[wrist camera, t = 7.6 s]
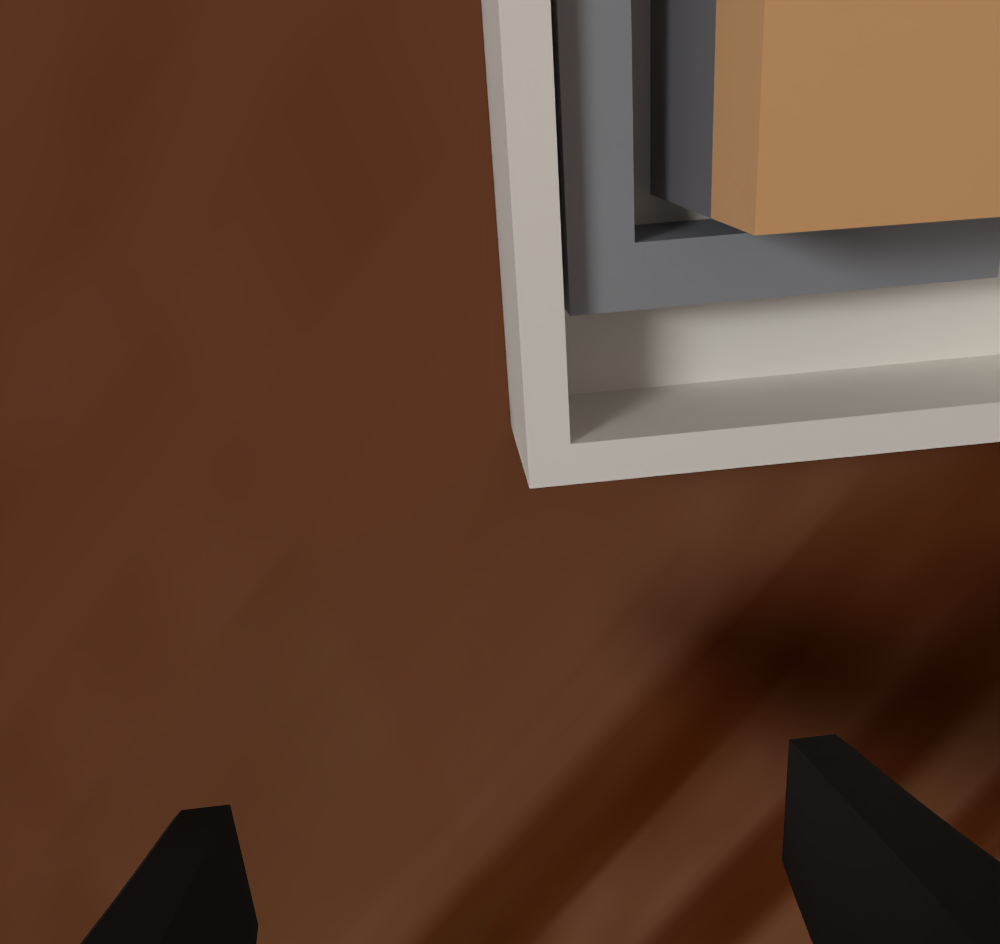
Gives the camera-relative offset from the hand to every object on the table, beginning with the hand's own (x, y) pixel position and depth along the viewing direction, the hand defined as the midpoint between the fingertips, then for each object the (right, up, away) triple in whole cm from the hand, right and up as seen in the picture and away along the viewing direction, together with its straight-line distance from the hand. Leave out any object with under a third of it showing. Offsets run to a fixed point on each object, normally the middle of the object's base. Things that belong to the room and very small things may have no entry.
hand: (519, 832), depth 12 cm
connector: (+5, +12, +6) cm, 14 cm away
